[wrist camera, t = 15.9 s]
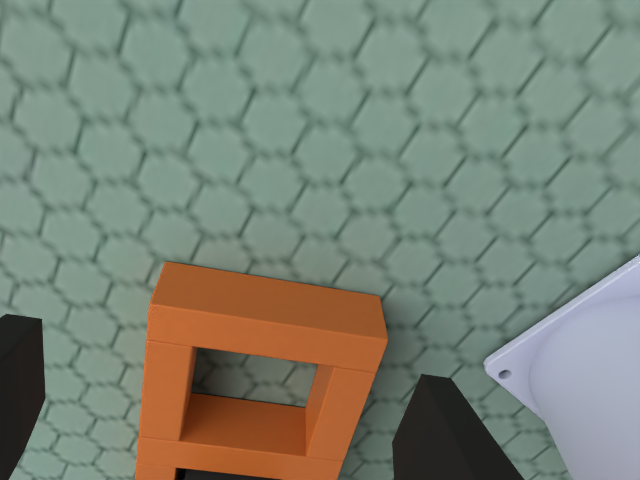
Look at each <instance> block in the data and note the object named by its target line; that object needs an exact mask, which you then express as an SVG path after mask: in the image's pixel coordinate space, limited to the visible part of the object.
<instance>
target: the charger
mask: <svg viewBox="0 0 640 480" xmlns="http://www.w3.org/2000/svg"><path fill="white" fill-rule="evenodd" d="M185 480H281V479H273V478H264V477H256V476H247V475H238V474H229V473H220V472H212V471H203V470H194V469H187V470H186V475H185Z"/></svg>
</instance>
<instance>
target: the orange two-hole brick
mask: <svg viewBox="0 0 640 480" xmlns="http://www.w3.org/2000/svg"><path fill="white" fill-rule="evenodd" d="M387 343H388V335H387V330H386V325H385V320H384V315H383V310H382V305H381V300H380V297H379V296H376V295H370V294H364V293H358V292H352V291H346V290H340V289H333V288H327V287H321V286H315V285H309V284H303V283H297V282H291V281H284V280H278V279H272V278H266V277H260V276H254V275H248V274H242V273H235V272H229V271H223V270H217V269H211V268H205V267H199V266H193V265H186V264H180V263H174V262H168V261H167V262H165V264H164V266H163V269H162V272H161V274H160V277H159V280H158V282H157V285H156V288H155V290H154V293H153V295H152V298H151V301H150V303H149V312H148V325H147V340H146V350H145V363H144V375H143V387H142V400H141V412H140V425H139V437H138V448H137V463H136V473H135V480H179V473H180V468H185V469H194V470H203V471H212V472H220V473H229V474H238V475H247V476H256V477H264V478H273V479H282V480H337V478H338V475H339V473H340V470H341V467H342V464H343V462H344V459H345V456H346V453H347V451H348V448H349V445H350V443H351V440H352V437H353V435H354V432H355V429H356V427H357V424H358V421H359V419H360V416H361V413H362V411H363V408H364V405H365V402H366V400H367V397H368V394H369V392H370V389H371V386H372V384H373V381H374V378H375V376H376V372H377V370H378V368H379V365H380V362H381V360H382V357H383V354H384V351H385V349H386V346H387ZM198 347H202V348H209V349H216V350H223V351H230V352H237V353H244V354H250V355H257V356H264V357H271V358H278V359H285V360H292V361H299V362H306V363H313V364H318V367H317V370H316V374H315V377H314V380H313V384H312V387H311V390H310V394H309V397H308V401H307V404H306V407H305V408H303V407H295V406H288V405H280V404H272V403H265V402H257V401H250V400H242V399H234V398H227V397H219V396H212V395H204V394H197V393H191V389H192V382H193V375H194V368H195V362H196V355H197V348H198Z"/></svg>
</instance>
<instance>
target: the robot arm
mask: <svg viewBox="0 0 640 480" xmlns="http://www.w3.org/2000/svg"><path fill="white" fill-rule="evenodd" d="M483 364H484V368H485V371H486V373H487V374H488V375H489V376H490V377H492V378H493V379H494V380H495V381H496V382H498V383H499V384H500V385H501V386H502V387H504V388H505V389H506V390H507V391H508V392H510V393H511V394H512V395H513V396H514V397H516V398H517V399H518V400H519V401H520V402H522V403H523V404H524V405H525V406H526V407H528V408H529V409H530V410H531V411H532V412H534V413H535V414H536V415H537V416H538V417H540V418H541V419H542V420H543V421H545V423H546V425H547V427H548V429H549V431H550V434H551V436H552V438H553V440H554V442H555V444H556V446H557V448H558V451H559V453H560V455H561V457H562V459H563V461H564V463H565V465H566V468H567V470H568V472H569V474H570V476H571V478H572V480H640V254H639V255H638V256H636V257H635V258H633V259H632V260H630V261H629V262H627V263H626V264H624V265H623V266H621V267H620V268H618V269H617V270H615V271H614V272H612V273H611V274H610V275H608V276H607V277H605V278H604V279H602V280H601V281H599V282H598V283H596V284H595V285H593V286H592V287H590V288H589V289H587V290H586V291H584V292H583V293H581V294H580V295H578V296H577V297H575V298H574V299H573V300H571V301H570V302H568V303H567V304H565V305H564V306H562V307H561V308H559V309H558V310H556V311H555V312H553V313H552V314H550V315H549V316H547V317H546V318H544V319H543V320H541V321H540V322H539V323H537V324H536V325H534V326H533V327H531V328H530V329H528V330H527V331H525V332H524V333H522V334H521V335H519V336H518V337H516V338H515V339H513V340H512V341H510V342H509V343H507V344H506V345H505V346H503V347H502V348H500V349H499V350H497V351H496V352H494V353H493V354H491V355H490V356H488V357H487V358H486V359H485V361H484V363H483ZM503 370H506V371H505V372H501V371H503ZM44 401H45V377H44V355H43V333H42V319H39V318H32V317H25V316H18V315H11V314H6V315H4V316H2V317H1V318H0V480H9V478H10V476H11V474H12V472H13V471H14V469H15V467H16V465H17V463H18V461H19V460H20V458H21V456H22V454H23V452H24V450H25V448H26V445H27V443H28V440H29V438H30V436H31V433H32V431H33V428H34V426H35V423H36V421H37V418H38V416H39V413H40V411H41V408H42V406H43V403H44ZM392 447H393V466H394V480H524V478H523V477H522V476H521V475H520V473H519V472H518V471H517V469H516V468H515V467H514V465H513V464H512V463H511V461H510V460H509V459H508V457H507V456H506V455H505V453H504V452H503V451H502V449H501V448H500V446H499V445H498V444H497V442H496V441H495V440H494V438H493V437H492V435H491V434H490V433H489V431H488V430H487V428H486V427H485V426H484V424H483V423H482V421H481V420H480V419H479V417H478V416H477V414H476V413H475V411H474V410H473V409H472V407H471V406H470V404H469V403H468V402H467V400H466V399H465V397H464V396H463V394H462V393H461V392H460V390H459V389H458V387H457V386H456V385H455V383H454V382H453V381H452V379H451V378H446V377H439V376H432V375H425V374H421V376H420V379H419V381H418V383H417V386H416V388H415V390H414V393H413V395H412V397H411V400H410V402H409V404H408V407H407V409H406V411H405V414H404V416H403V418H402V421H401V423H400V425H399V428H398V430H397V432H396V435H395V437H394V439H393V441H392Z"/></svg>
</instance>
